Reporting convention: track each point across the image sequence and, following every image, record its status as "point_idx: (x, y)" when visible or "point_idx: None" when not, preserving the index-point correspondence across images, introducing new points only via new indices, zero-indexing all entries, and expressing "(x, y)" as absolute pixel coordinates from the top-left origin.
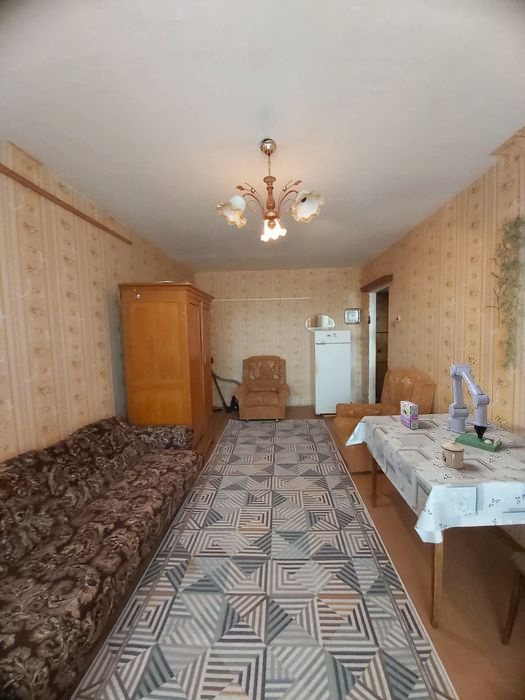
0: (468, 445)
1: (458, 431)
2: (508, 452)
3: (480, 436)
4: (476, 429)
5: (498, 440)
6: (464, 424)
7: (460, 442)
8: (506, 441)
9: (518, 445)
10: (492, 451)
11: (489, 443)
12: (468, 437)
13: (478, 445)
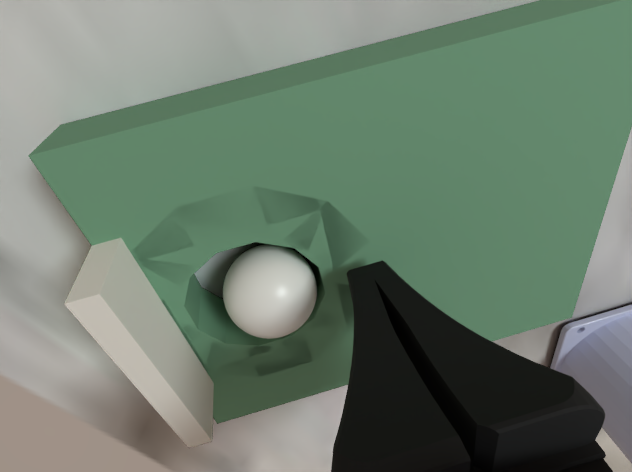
0: (416, 34)
1: (613, 323)
2: (23, 290)
3: (367, 297)
4: (496, 375)
5: (146, 388)
6: (629, 429)
7: (543, 5)
8: (269, 453)
9: (171, 464)
10: (76, 121)
11: (235, 278)
12: (504, 225)
13: (279, 79)
